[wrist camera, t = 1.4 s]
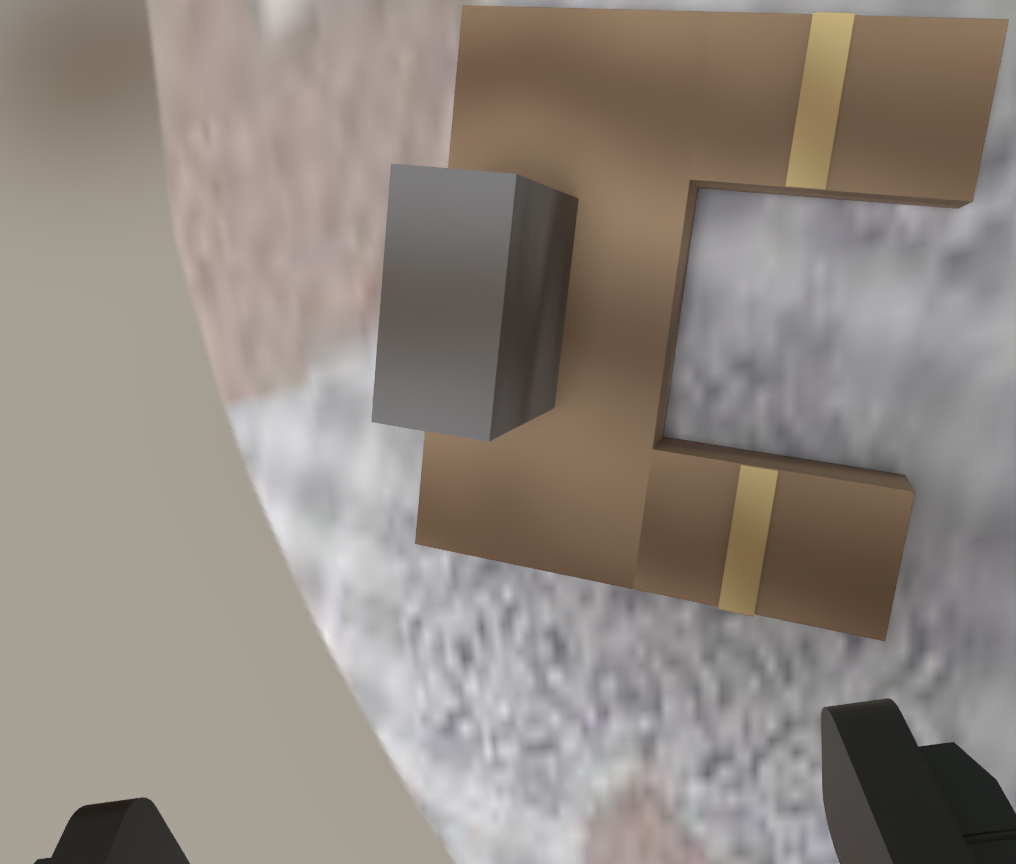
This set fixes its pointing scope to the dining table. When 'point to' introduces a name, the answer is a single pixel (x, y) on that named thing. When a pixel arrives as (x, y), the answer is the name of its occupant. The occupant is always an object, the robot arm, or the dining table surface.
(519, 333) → the brown grey u-shaped block
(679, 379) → the dining table surface
